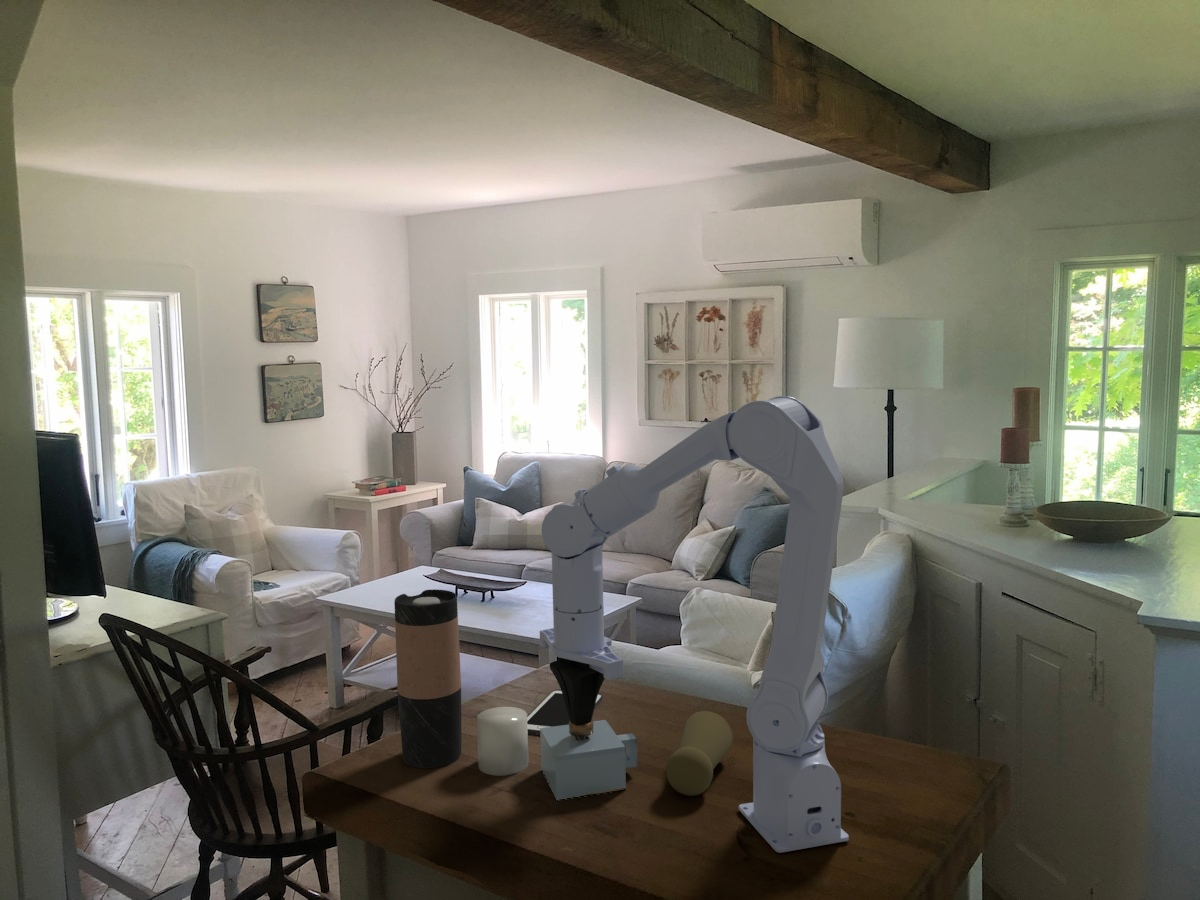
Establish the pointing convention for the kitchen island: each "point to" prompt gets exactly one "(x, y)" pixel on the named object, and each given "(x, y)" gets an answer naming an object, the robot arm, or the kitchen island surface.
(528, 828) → the kitchen island surface
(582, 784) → the blue box with knob
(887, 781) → the kitchen island surface
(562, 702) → the cell phone
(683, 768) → the cork
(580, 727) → the plunger
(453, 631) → the travel mug
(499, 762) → the white pillar candle
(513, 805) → the kitchen island surface
